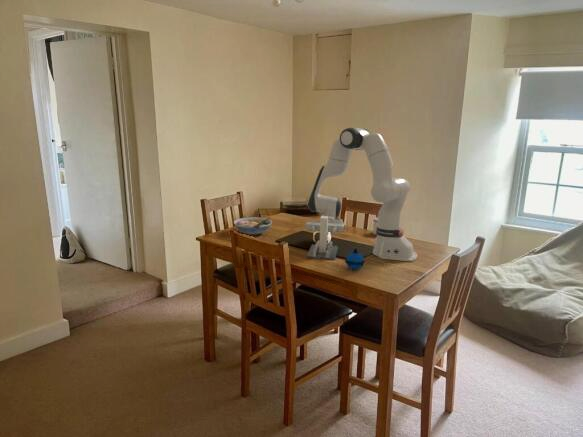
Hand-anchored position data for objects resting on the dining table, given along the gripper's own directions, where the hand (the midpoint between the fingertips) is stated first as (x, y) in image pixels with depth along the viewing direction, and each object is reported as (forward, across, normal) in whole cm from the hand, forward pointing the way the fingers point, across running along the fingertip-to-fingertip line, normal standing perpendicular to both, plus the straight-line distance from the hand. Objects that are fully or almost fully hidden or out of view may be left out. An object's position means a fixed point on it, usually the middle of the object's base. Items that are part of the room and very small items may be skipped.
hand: (323, 230), depth 223 cm
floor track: (0, 0, +12) cm, 12 cm away
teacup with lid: (-46, +31, +12) cm, 57 cm away
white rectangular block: (0, 0, +11) cm, 11 cm away
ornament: (+21, +17, +12) cm, 30 cm away
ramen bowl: (-27, -45, +12) cm, 54 cm away
